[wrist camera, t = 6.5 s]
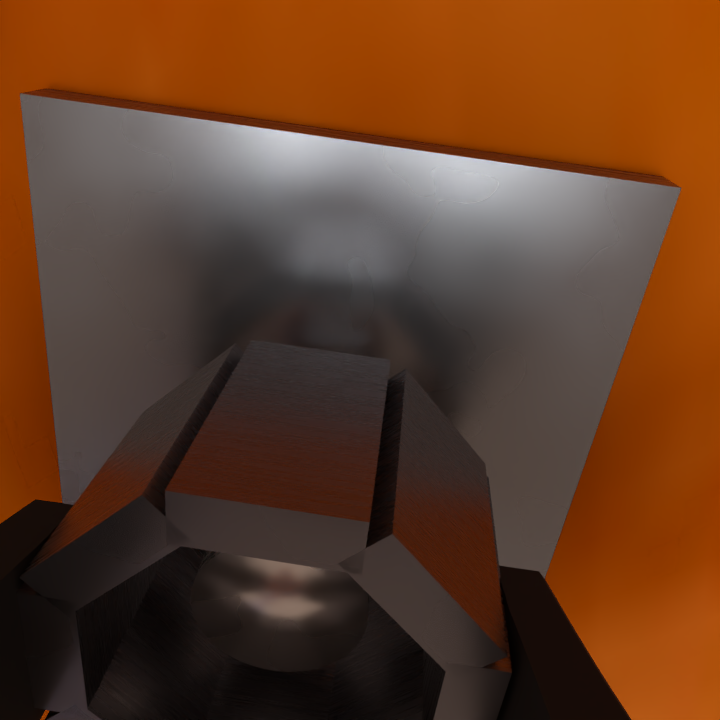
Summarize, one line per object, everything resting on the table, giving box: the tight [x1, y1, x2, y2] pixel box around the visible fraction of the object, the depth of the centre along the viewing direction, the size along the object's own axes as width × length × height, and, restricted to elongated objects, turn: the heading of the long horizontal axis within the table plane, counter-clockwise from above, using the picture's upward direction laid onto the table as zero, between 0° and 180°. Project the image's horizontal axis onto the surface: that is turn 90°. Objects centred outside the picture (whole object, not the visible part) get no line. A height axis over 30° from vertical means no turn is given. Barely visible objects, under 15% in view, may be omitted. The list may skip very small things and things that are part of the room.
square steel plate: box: [20, 89, 681, 672], centre depth 11 cm, size 11×10×5 cm
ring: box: [16, 340, 512, 720], centre depth 9 cm, size 6×6×4 cm
